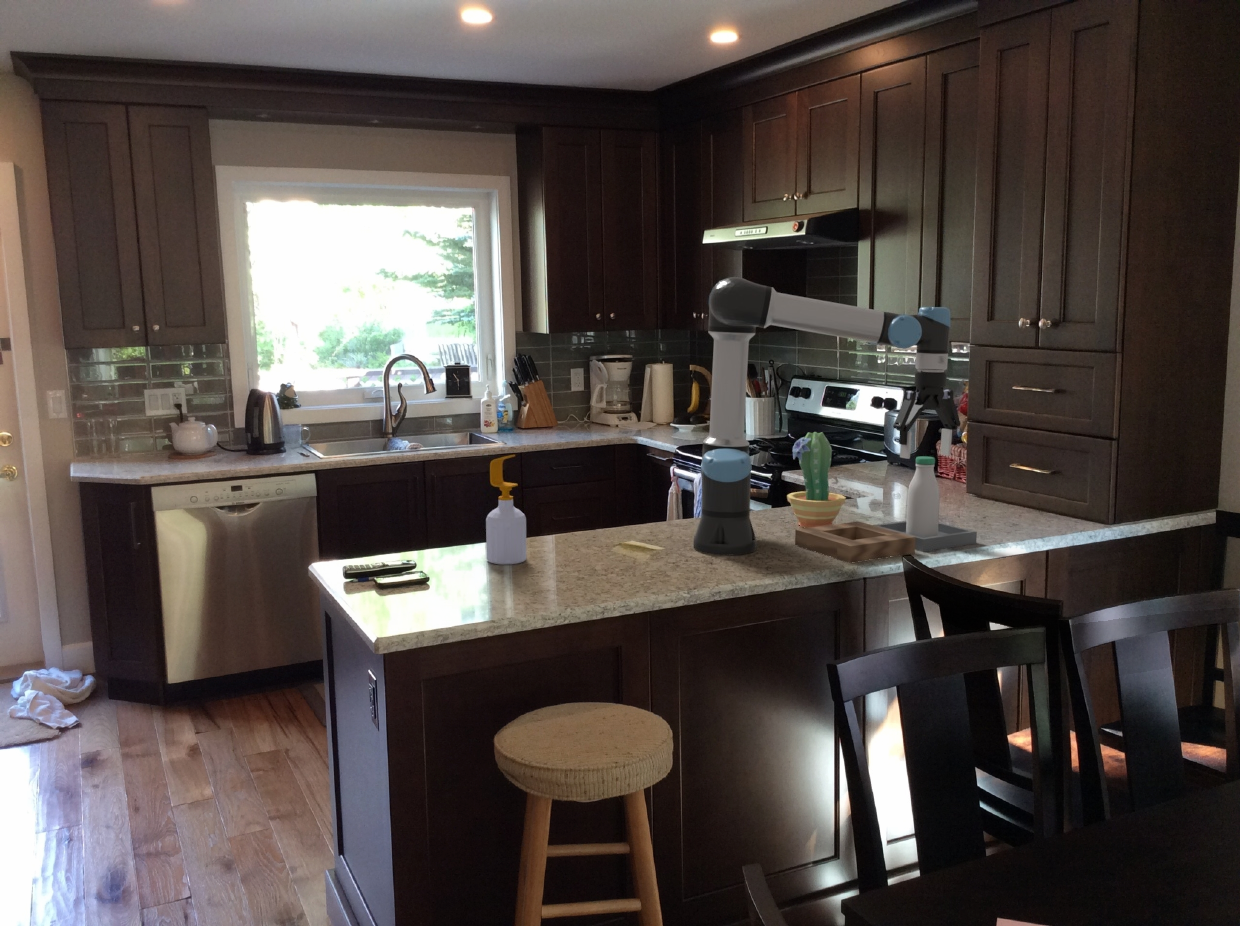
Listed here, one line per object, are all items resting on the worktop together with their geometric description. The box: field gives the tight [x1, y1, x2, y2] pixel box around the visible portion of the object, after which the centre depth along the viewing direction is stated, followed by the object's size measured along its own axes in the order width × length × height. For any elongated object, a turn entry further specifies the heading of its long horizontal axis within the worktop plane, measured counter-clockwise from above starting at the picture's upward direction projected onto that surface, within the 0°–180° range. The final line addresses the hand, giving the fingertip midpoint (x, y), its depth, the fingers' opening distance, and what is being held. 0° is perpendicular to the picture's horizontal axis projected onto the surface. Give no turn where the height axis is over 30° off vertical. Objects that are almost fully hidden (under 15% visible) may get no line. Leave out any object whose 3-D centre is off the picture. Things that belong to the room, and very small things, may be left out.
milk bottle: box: [905, 455, 941, 538], centre depth 262 cm, size 8×8×20 cm
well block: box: [794, 521, 916, 564], centre depth 254 cm, size 20×20×4 cm
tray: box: [872, 520, 978, 552], centre depth 264 cm, size 18×18×3 cm
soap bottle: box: [485, 454, 527, 566], centre depth 240 cm, size 9×9×25 cm
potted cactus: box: [786, 431, 847, 528], centre depth 279 cm, size 15×15×25 cm
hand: (925, 456), depth 261 cm, fingers open, 13 cm apart
